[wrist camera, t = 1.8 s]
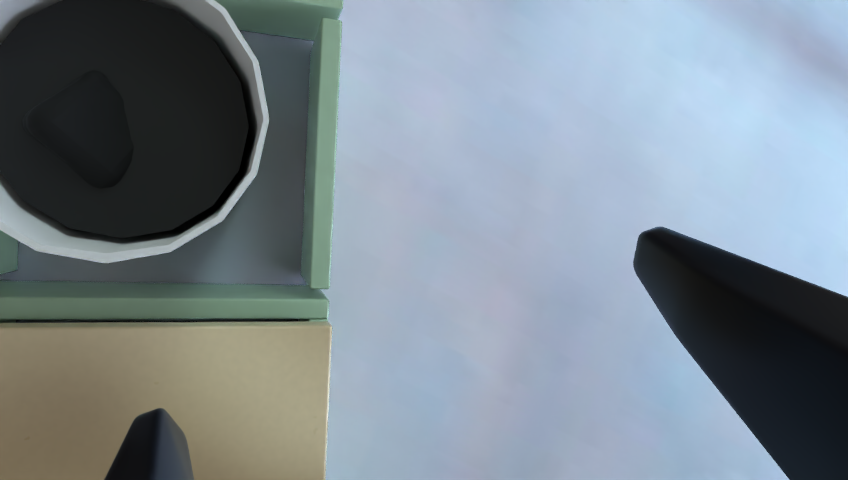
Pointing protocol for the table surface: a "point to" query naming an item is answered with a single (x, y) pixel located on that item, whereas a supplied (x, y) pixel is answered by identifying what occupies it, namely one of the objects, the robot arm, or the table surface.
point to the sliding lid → (165, 396)
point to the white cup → (124, 124)
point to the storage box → (72, 300)
